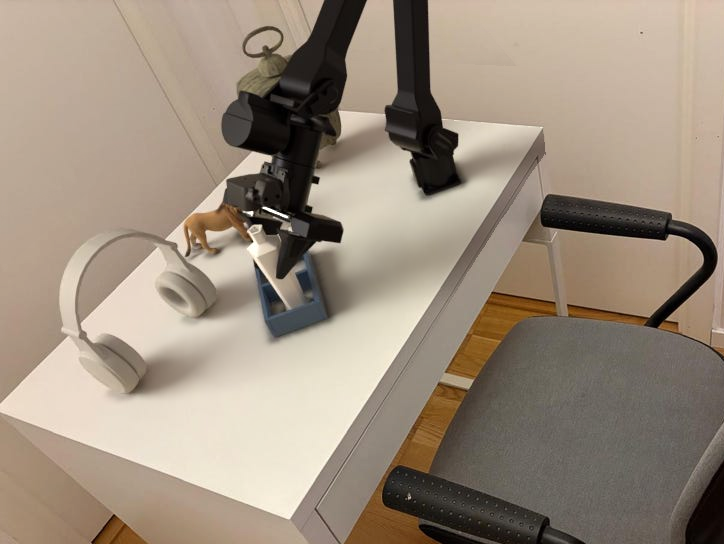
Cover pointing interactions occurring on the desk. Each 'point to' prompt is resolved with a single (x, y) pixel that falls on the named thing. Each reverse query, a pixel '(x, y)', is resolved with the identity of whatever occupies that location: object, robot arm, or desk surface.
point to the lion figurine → (213, 226)
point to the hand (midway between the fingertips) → (268, 273)
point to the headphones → (108, 352)
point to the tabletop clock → (276, 79)
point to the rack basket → (297, 315)
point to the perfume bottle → (267, 258)
